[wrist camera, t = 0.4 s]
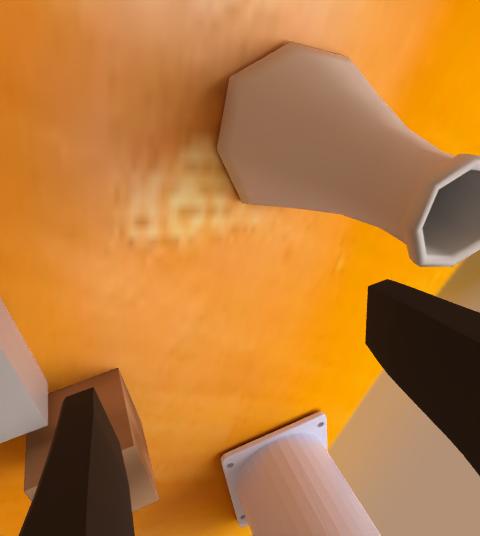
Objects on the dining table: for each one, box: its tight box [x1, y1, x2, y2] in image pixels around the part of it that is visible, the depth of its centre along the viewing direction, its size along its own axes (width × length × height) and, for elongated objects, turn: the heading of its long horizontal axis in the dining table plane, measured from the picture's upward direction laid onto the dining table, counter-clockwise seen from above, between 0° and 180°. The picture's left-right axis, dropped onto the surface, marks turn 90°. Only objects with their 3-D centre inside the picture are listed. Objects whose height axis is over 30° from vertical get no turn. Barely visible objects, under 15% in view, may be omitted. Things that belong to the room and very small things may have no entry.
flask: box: [217, 42, 480, 267], centre depth 15 cm, size 7×7×10 cm
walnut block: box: [24, 368, 159, 512], centre depth 21 cm, size 4×4×5 cm
